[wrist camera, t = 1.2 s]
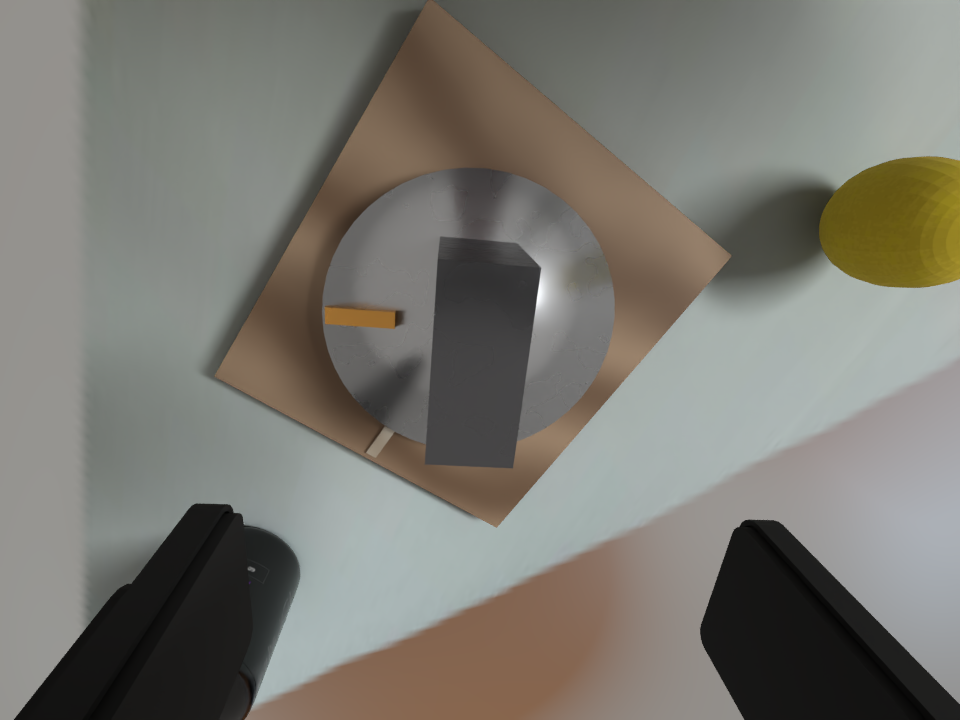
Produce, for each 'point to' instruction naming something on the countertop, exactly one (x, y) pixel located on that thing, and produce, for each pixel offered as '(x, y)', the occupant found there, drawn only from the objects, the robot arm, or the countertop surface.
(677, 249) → the dial base
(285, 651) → the countertop surface
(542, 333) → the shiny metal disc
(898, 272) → the lemon
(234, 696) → the supplement bottle
